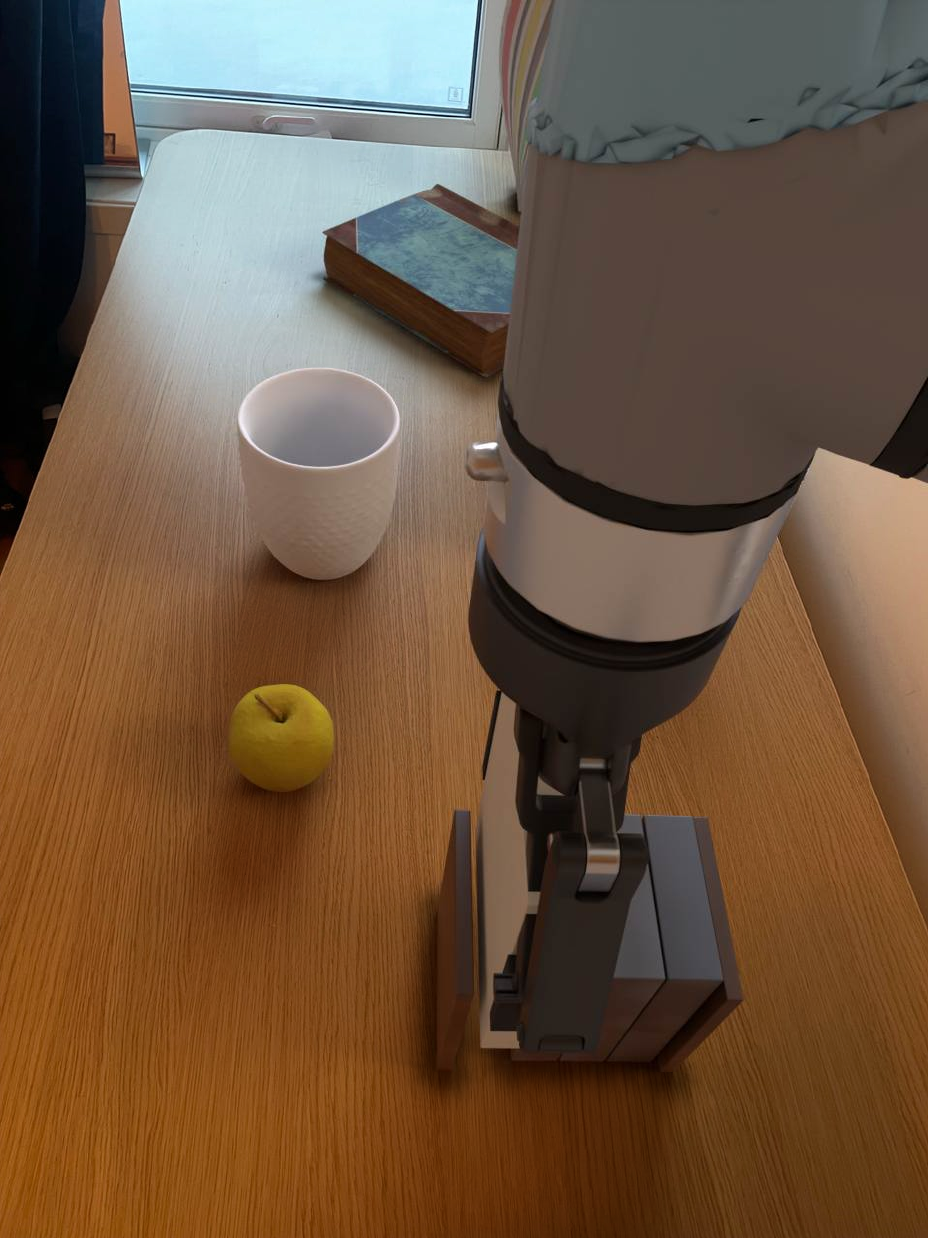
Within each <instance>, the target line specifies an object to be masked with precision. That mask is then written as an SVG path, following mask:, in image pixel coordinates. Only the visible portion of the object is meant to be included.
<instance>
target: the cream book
mask: <svg viewBox="0 0 928 1238" xmlns="http://www.w3.org/2000/svg"><path fill="white" fill-rule="evenodd" d="M515 707H516V703H514V702H513V701H512V700H511V699H509V698H508V697H507V696H506V695H505V694H504V693H503V692H502V694H501V699H500V704H499V709H498V714H497V719H496V725H495V730H494V735H493V740H492V745H491V751H490V756H489V761H488V766H487V771H486V776H485V780H484V782H483V787H482V792H481V797H480V803H479V807H478V814H477V818H476V823H475V829H474V834H475V835H474V837H475V840H474V842H475V877H476V879H475V882H476V915H477V917H476V921H477V924H476V927H477V960H478V961H477V962H478V1005H479V1008H478V1009H479V1046H480V1048H481V1049H511V1048H519V1041H517V1031H490V1010H491V1006H492V1003H493V1000H494V995H493V975H494V973H502V972H503V969H504V966H505V963H506V960H507V956H508V954H512V955H516V953H517V942H518V936H519V933H520V930H521V927H522V924H523V921H524V918H525V915H526V914H537V910H538V904H539V897H540V892H528V883H527V867H526V841H527V831H526V830H524V829H523V828H522V827H521V825H520V822H519V818H518V814H517V809H516V804H515V797H516V785H517V773H518V761H519V752H518V748H517V744H516V741H515V737H514V731H513V730H514V718H515ZM537 794H540V795H563V794H561V793H559V792H558V791H556V790H555V789H553V788H552V787H550V786H549V785H547V784H546V783H544V782H543V781H542V780H541V779H540V778H539V776H538V787H537Z"/></svg>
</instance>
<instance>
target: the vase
mask: <svg viewBox="0 0 928 1238" xmlns="http://www.w3.org/2000/svg"><path fill="white" fill-rule="evenodd" d="M554 3H555V0H506V2H505V6H504V11H503V16H502V22H501V27H500V37H499V47H498V48H499V49H498V51H499V52H498V72H499V73H498V74H499V75H498V76H499V89H500V99H501V108H502V113H503V118H504V120H503V121H504V127H505V131H506V137H507V142H508V146H509V152H510V156H511V162H512V167H513V173H514V178H515V187H516V188H515V189H516V199H517V211H518V212H521V211H522V202H523V193H524V184H525V175H526V166H527V158H528V149H529V143H528V142H527V141H526V130H525V128H526V123H527V118H528V115H529V110H530V109H529V105H530V103H531V102H532V101H533V100H534V99H535V98H536V97H537V94H538V88H539V83H540V78H541V72H542V67H543V62H544V56H545V51H546V46H547V40H548V35H549V30H550V24H551V19H552V14H553V8H554Z"/></svg>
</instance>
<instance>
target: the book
mask: <svg viewBox="0 0 928 1238" xmlns="http://www.w3.org/2000/svg"><path fill="white" fill-rule="evenodd" d="M519 228H520V225H517V224H516V223H513V222H511V221H509V220H507V219H505V218H504V217H502V216H500V215H498V214H496V213H494V212H493V211H491V210H488V209H486V208H485V207H483V206H481V205H479V204H477V203H475V202H474V201H472V200H470V199H468V198H466V197H464V196H463V195H460V194H459V193H456V192H455V191H453V190H451V189H449V188H448V187H445V186H443V185H441V184H440V183H436V184H435V185H434V186H433V187H432V188H431V189H426V190H422V191H419V192H416V193H413V194H411V195H408V196H406V197H403V198H401V199H397V200H395V201H393V202H390V203H387V204H385V205H383V206H381V207H378V208H375V209H373V210H370V211H368V212H365V213H363V214H361V215H359V216H357V217H354V218H351V219H349V220H347V221H344V222H342V223H340V224H337V225H334V226H333V227H330V228H327V229H326V230H323V231H322V232H321V233H322V234H323V235H325V236H326V238H325V243H324V244H325V245H324V249H323V263H324V268H325V273H326V274H324V276H323V278H324V279H325V280H327V281H329V282H330V283H331V284H333V285H335V286H336V287H338V288H340V289H341V290H342V291H344V292H346V293H347V294H349V295H351V296H353V297H354V298H356V299H358V300H359V301H360V302H362V303H364V304H365V305H366V306H369V308H372V309H373V310H375V311H376V312H378V313H380V314H381V315H383V316H385V317H386V318H388V319H389V320H391V321H393V322H394V323H396V324H398V325H399V326H400V327H402V328H403V329H406V330H407V331H409V332H410V333H412V334H413V335H415V336H417V337H418V338H420V339H422V340H423V341H425V342H426V343H429V345H431V346H433V347H435V348H436V349H437V350H439V351H441V352H443V353H444V354H446V355H448V357H450V358H452V359H454V360H456V361H457V362H458V363H461V364H462V365H463V366H465V367H467V368H469V369H470V370H471V371H473V372H475V373H476V374H478V375H480V376H481V377H483V378H485V379H487V378H489V377H490V376H492V375H494V374H495V373H497V372H499V371H501V370H502V369H504V360H505V351H506V343H507V334H508V325H509V316H510V307H511V299H512V290H513V281H514V272H515V263H516V255H517V246H518V237H519Z"/></svg>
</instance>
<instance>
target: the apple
mask: <svg viewBox="0 0 928 1238" xmlns="http://www.w3.org/2000/svg"><path fill="white" fill-rule="evenodd" d="M334 742H335V731H334V723H333V720H332V717H331V715H330V712H329V711H328V710H327V707H325V706H324V705H323V704H322V702H320V700H319V699H318V698H316V697H315V696H314V695H313V694H312V693H311V691H309V690H307V689H305V688H304V687H301V686H298V685H295V684H288V683H279V684H269V685H263V686H259V687H256V688H254V689H252V690H250V691H249V692H248V693H246V694H245V695H244V696H243V697H242V698H241V699H240V700H239V702H238V703H237V705H236V706H235V708H234V710H233V713H232V715H231V718H230V722H229V735H228V754H229V758H230V759H229V760H230V761H231V762H232V764H233V766H234V767H235V768H236V769H237V770H238V771H239V772H240V774H242V775H243V776H244V777H245V778H246V779H247V780H248V782H250V783H252V784H254V785H256V786H257V787H260V788H261V789H264V790H266V791H270V792H275V793H277V792H278V793H287V792H293V791H296V790H299V789H302V788H304V787H306V786H308V785H310V784H311V783H313V782H314V781H315V780H316V779H317V778H318V777H320V776H321V775H322V774H323V772H325V770H326V768H327V767H328V765H329V763H330V761H331V759H332V756H333V752H334Z"/></svg>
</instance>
